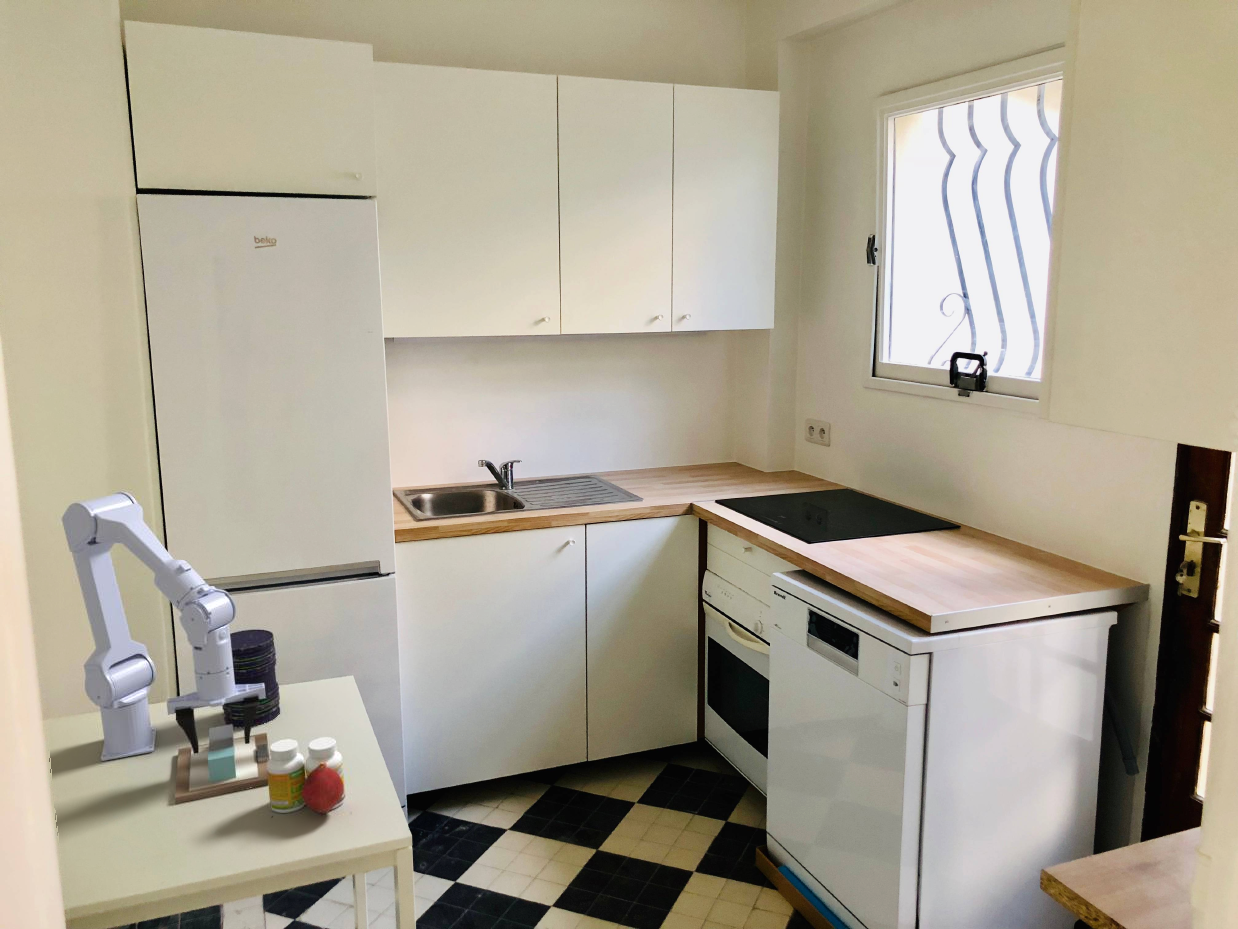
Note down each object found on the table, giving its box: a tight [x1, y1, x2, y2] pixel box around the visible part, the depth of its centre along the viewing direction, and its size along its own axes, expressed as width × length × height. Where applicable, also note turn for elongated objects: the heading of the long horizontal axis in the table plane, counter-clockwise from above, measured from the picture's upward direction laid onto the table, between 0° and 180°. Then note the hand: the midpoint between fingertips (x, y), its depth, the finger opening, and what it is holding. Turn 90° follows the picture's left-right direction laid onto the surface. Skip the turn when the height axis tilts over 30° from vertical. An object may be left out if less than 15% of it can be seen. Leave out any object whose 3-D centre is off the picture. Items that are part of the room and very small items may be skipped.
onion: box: [302, 762, 345, 814], centre depth 140 cm, size 6×6×8 cm
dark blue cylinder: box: [221, 628, 281, 729], centre depth 173 cm, size 10×10×15 cm
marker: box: [208, 724, 236, 783], centre depth 155 cm, size 14×4×4 cm, turn 23°
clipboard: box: [174, 732, 271, 804], centre depth 155 cm, size 17×14×2 cm
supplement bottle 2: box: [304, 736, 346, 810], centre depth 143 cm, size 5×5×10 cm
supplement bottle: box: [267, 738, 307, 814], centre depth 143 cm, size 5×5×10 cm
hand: (221, 746), depth 154 cm, fingers open, 7 cm apart
